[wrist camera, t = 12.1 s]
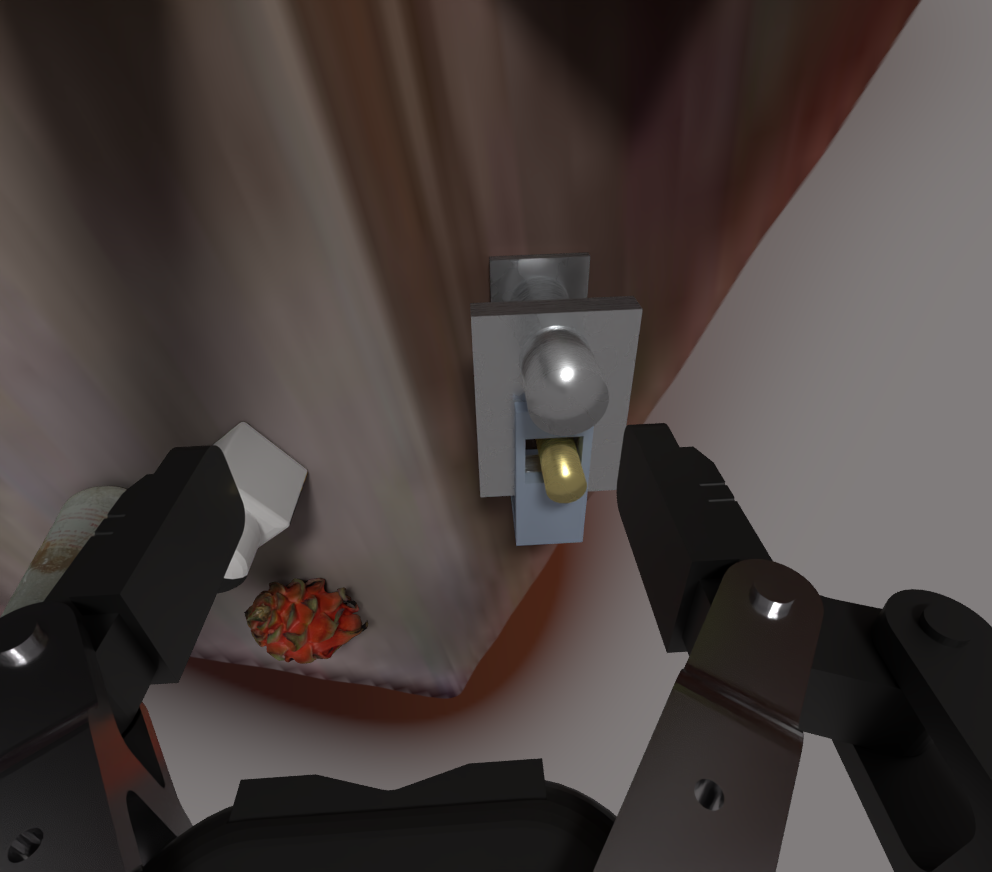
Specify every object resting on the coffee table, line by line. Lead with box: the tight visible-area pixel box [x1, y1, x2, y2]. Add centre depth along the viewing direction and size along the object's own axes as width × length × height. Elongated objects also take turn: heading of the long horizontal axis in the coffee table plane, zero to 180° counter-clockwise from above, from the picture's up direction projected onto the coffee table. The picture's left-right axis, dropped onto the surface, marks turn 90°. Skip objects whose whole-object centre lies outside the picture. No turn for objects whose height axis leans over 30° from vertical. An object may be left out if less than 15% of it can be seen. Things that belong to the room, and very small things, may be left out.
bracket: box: [511, 402, 594, 546], centre depth 42 cm, size 5×12×10 cm, turn 1°
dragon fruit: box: [244, 578, 368, 664], centre depth 56 cm, size 8×8×12 cm
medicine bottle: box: [213, 422, 307, 593], centre depth 44 cm, size 7×7×12 cm
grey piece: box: [470, 253, 642, 497], centre depth 38 cm, size 10×14×14 cm
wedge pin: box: [536, 437, 587, 503], centre depth 40 cm, size 3×3×13 cm
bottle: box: [0, 486, 127, 618], centre depth 40 cm, size 9×9×28 cm
